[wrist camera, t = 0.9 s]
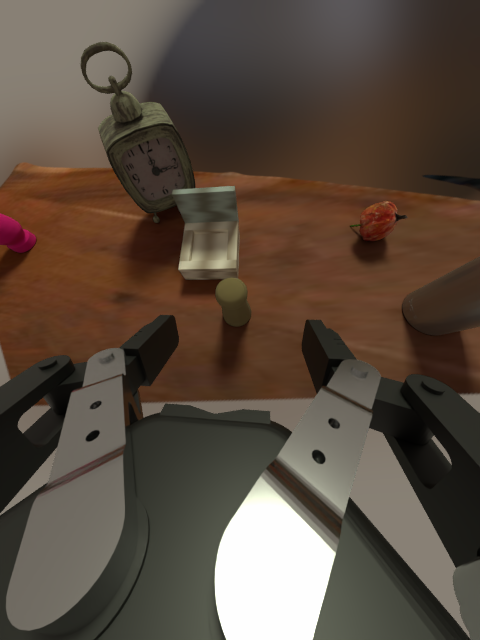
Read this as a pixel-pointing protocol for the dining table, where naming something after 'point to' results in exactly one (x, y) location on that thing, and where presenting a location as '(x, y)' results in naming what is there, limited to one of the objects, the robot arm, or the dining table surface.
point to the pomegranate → (378, 221)
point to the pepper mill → (15, 235)
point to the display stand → (209, 233)
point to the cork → (233, 301)
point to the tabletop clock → (141, 143)
